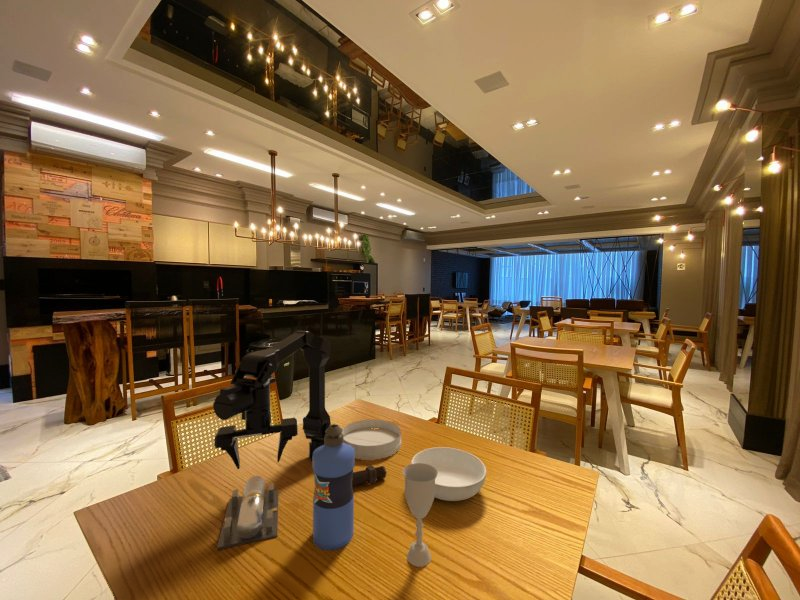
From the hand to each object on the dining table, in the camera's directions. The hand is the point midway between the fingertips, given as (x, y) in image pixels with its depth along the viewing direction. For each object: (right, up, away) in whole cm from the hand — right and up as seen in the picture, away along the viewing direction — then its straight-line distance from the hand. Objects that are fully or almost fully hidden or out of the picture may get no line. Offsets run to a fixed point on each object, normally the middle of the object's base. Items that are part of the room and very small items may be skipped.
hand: (258, 464), depth 82 cm
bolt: (+25, -12, +11) cm, 29 cm away
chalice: (+40, -12, -14) cm, 44 cm away
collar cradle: (0, -11, -3) cm, 12 cm away
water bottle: (+21, -12, -8) cm, 25 cm away
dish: (+25, -11, +35) cm, 44 cm away
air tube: (0, -11, -3) cm, 11 cm away
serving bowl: (+49, -12, +9) cm, 52 cm away
